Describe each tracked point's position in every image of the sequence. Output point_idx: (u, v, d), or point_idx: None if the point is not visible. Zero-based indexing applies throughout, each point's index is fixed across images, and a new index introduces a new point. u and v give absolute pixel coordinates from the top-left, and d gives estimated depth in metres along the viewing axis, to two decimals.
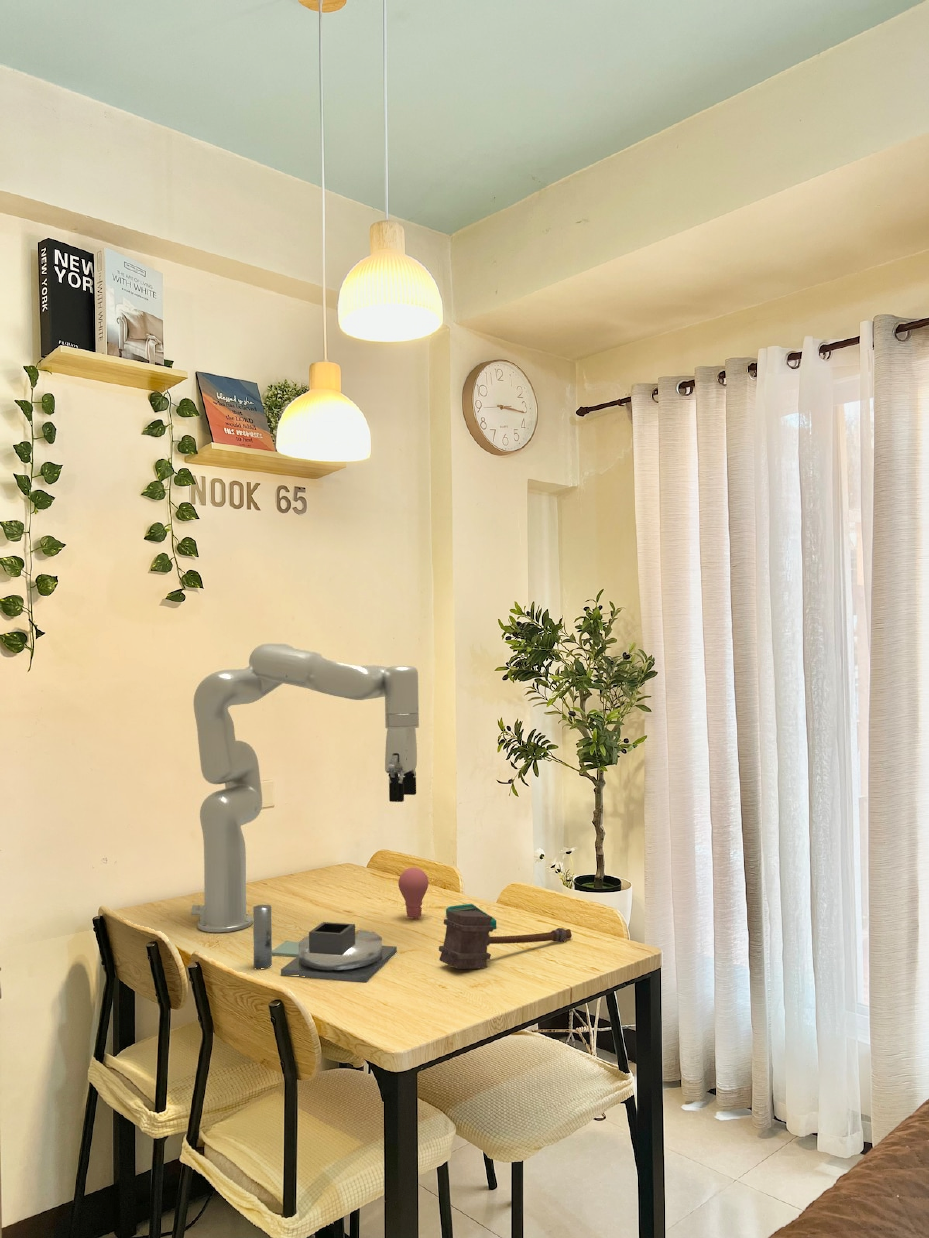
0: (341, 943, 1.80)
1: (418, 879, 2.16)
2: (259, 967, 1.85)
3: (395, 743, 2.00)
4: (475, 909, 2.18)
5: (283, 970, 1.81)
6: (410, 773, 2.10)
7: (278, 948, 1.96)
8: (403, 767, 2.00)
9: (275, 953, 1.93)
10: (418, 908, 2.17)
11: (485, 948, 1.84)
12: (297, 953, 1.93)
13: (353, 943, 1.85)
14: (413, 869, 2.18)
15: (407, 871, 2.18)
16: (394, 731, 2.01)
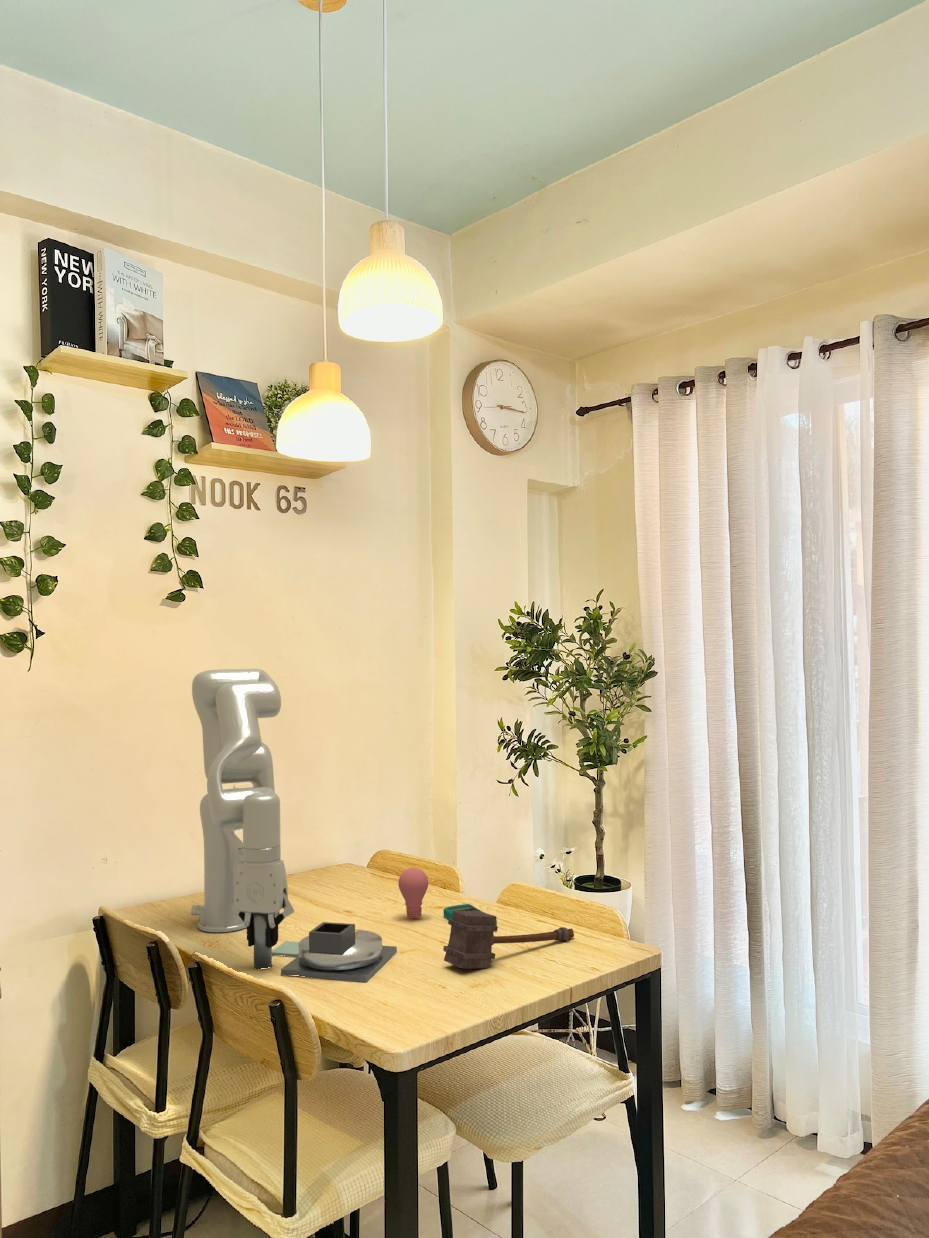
0: (341, 943, 1.80)
1: (418, 879, 2.16)
2: (259, 967, 1.85)
3: (283, 877, 1.86)
4: (473, 909, 2.18)
5: (283, 970, 1.81)
6: None
7: (278, 948, 1.96)
8: None
9: (275, 953, 1.93)
10: (418, 908, 2.17)
11: (490, 948, 1.84)
12: (297, 953, 1.93)
13: (353, 943, 1.85)
14: (413, 869, 2.18)
15: (407, 871, 2.18)
16: (281, 865, 1.86)
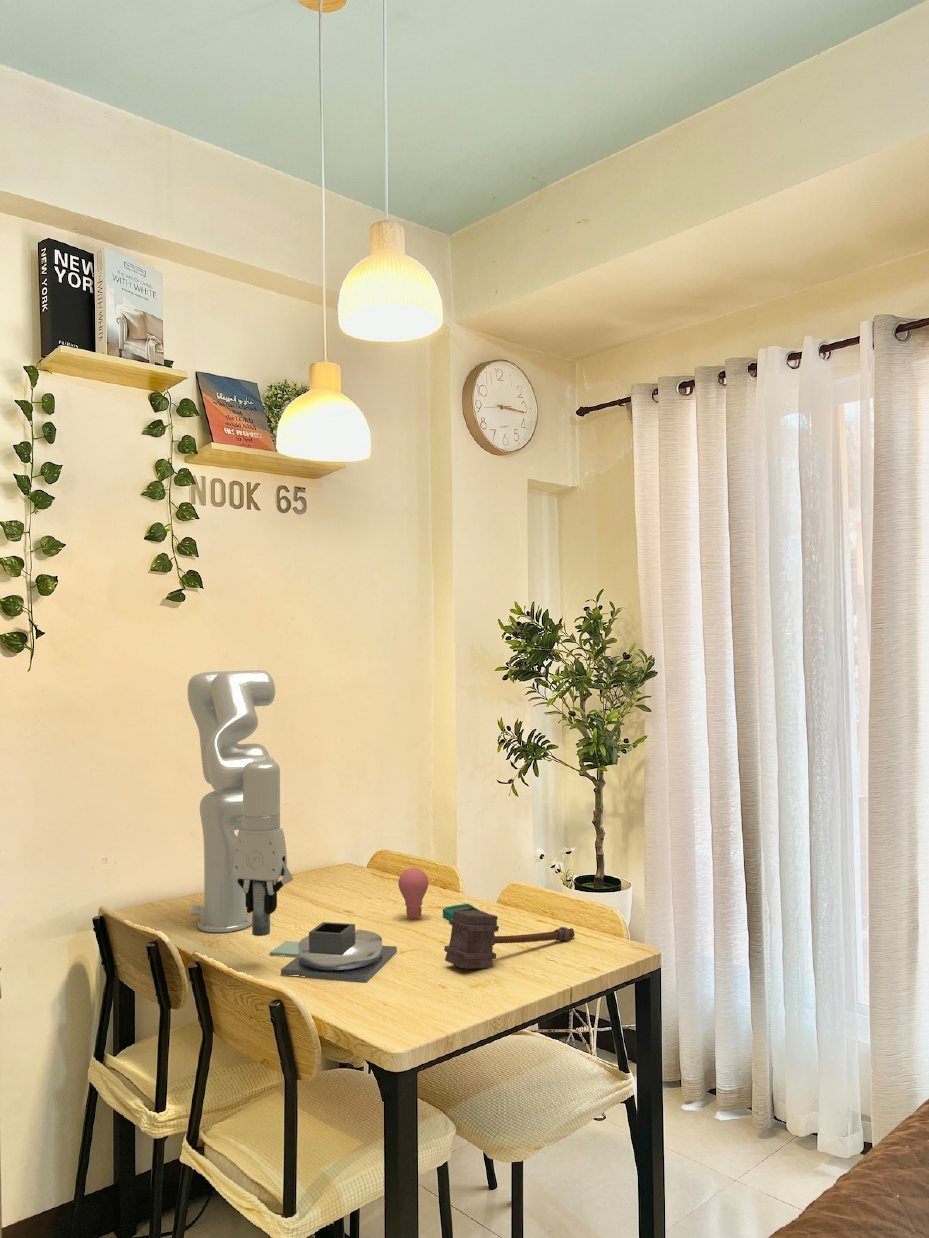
0: (341, 943, 1.80)
1: (418, 879, 2.16)
2: (257, 934, 1.86)
3: (282, 845, 1.87)
4: (472, 909, 2.18)
5: (283, 970, 1.81)
6: None
7: (278, 948, 1.96)
8: None
9: (275, 953, 1.93)
10: (418, 908, 2.17)
11: (491, 948, 1.85)
12: (297, 953, 1.93)
13: (353, 943, 1.85)
14: (413, 869, 2.18)
15: (407, 871, 2.18)
16: (280, 833, 1.86)
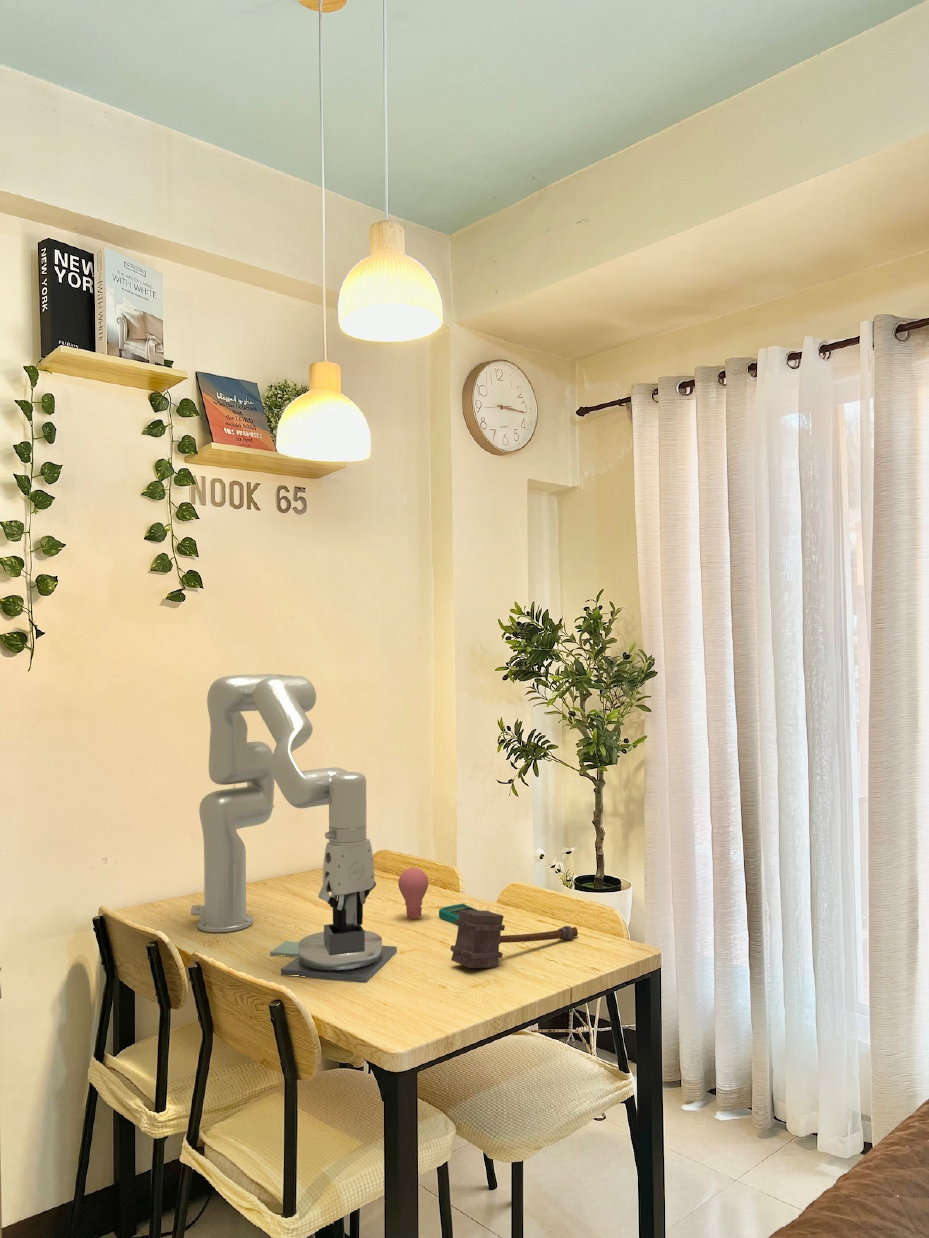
0: (363, 939, 1.82)
1: (418, 879, 2.16)
2: None
3: None
4: (469, 908, 2.19)
5: (283, 970, 1.81)
6: None
7: (278, 948, 1.96)
8: None
9: (275, 953, 1.93)
10: (418, 908, 2.17)
11: (497, 947, 1.85)
12: (297, 953, 1.93)
13: None
14: (413, 869, 2.18)
15: (407, 871, 2.18)
16: None
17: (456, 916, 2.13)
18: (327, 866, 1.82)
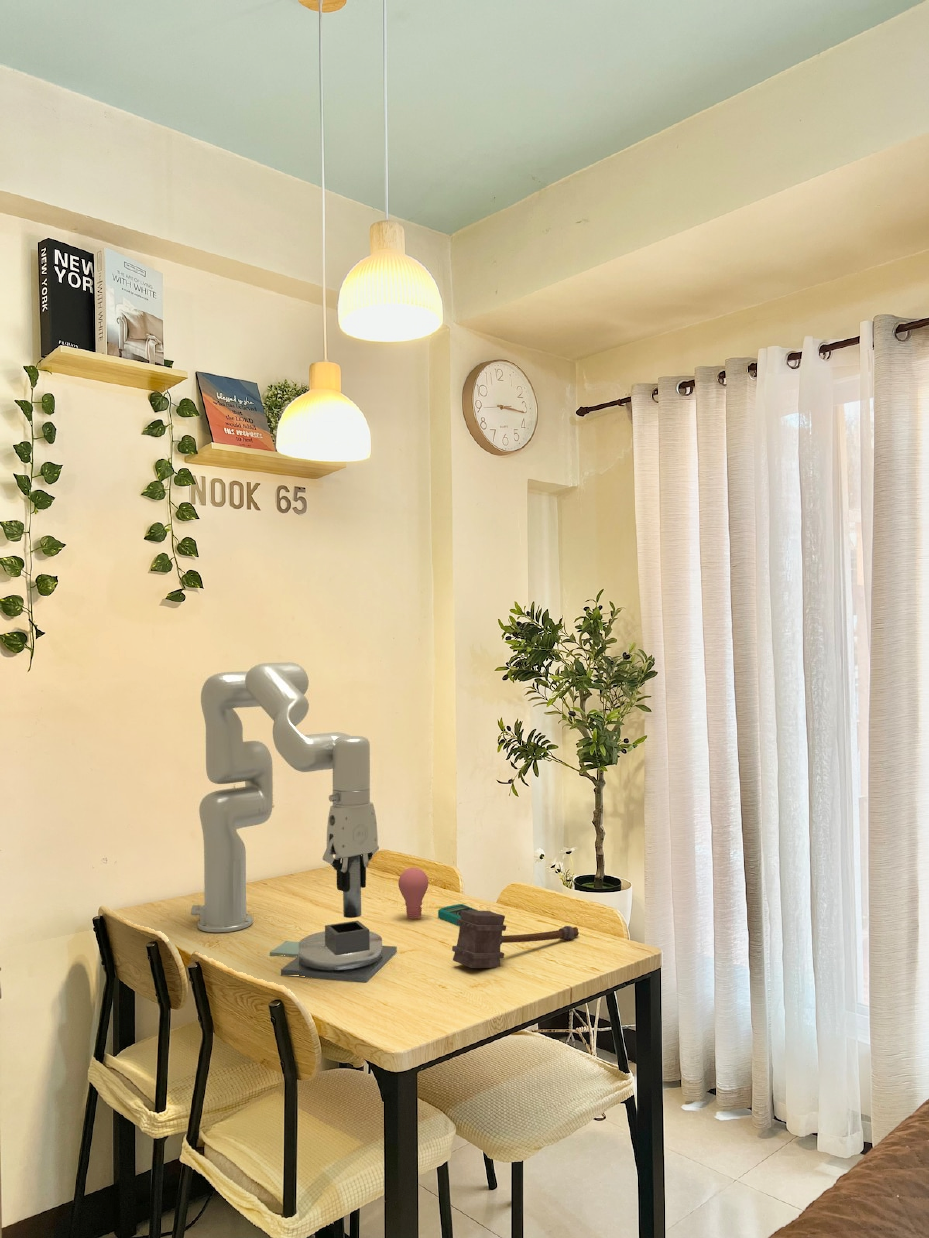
0: (368, 938, 1.83)
1: (418, 879, 2.16)
2: (357, 914, 1.84)
3: None
4: (468, 909, 2.19)
5: (283, 970, 1.81)
6: None
7: (278, 948, 1.96)
8: None
9: (275, 953, 1.93)
10: (418, 908, 2.17)
11: (498, 947, 1.85)
12: (297, 953, 1.93)
13: None
14: (413, 869, 2.18)
15: (407, 871, 2.18)
16: None
17: (456, 916, 2.13)
18: (331, 829, 1.82)
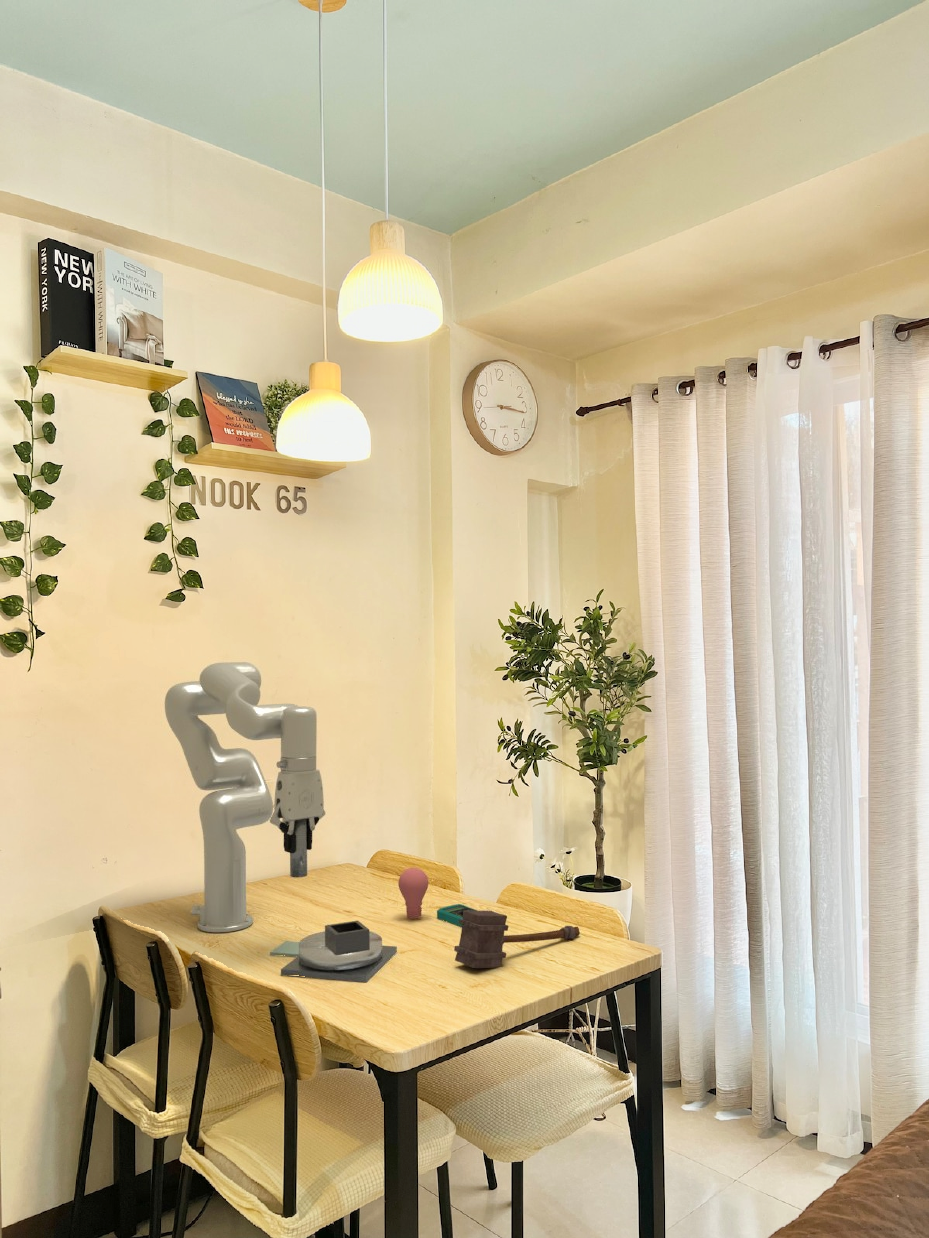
0: (368, 938, 1.83)
1: (418, 879, 2.16)
2: (303, 874, 1.95)
3: None
4: (467, 909, 2.19)
5: (283, 970, 1.81)
6: None
7: (278, 948, 1.96)
8: None
9: (275, 953, 1.93)
10: (418, 908, 2.17)
11: (501, 947, 1.85)
12: (297, 953, 1.93)
13: None
14: (413, 869, 2.18)
15: (407, 871, 2.18)
16: None
17: (455, 916, 2.13)
18: (278, 793, 1.93)
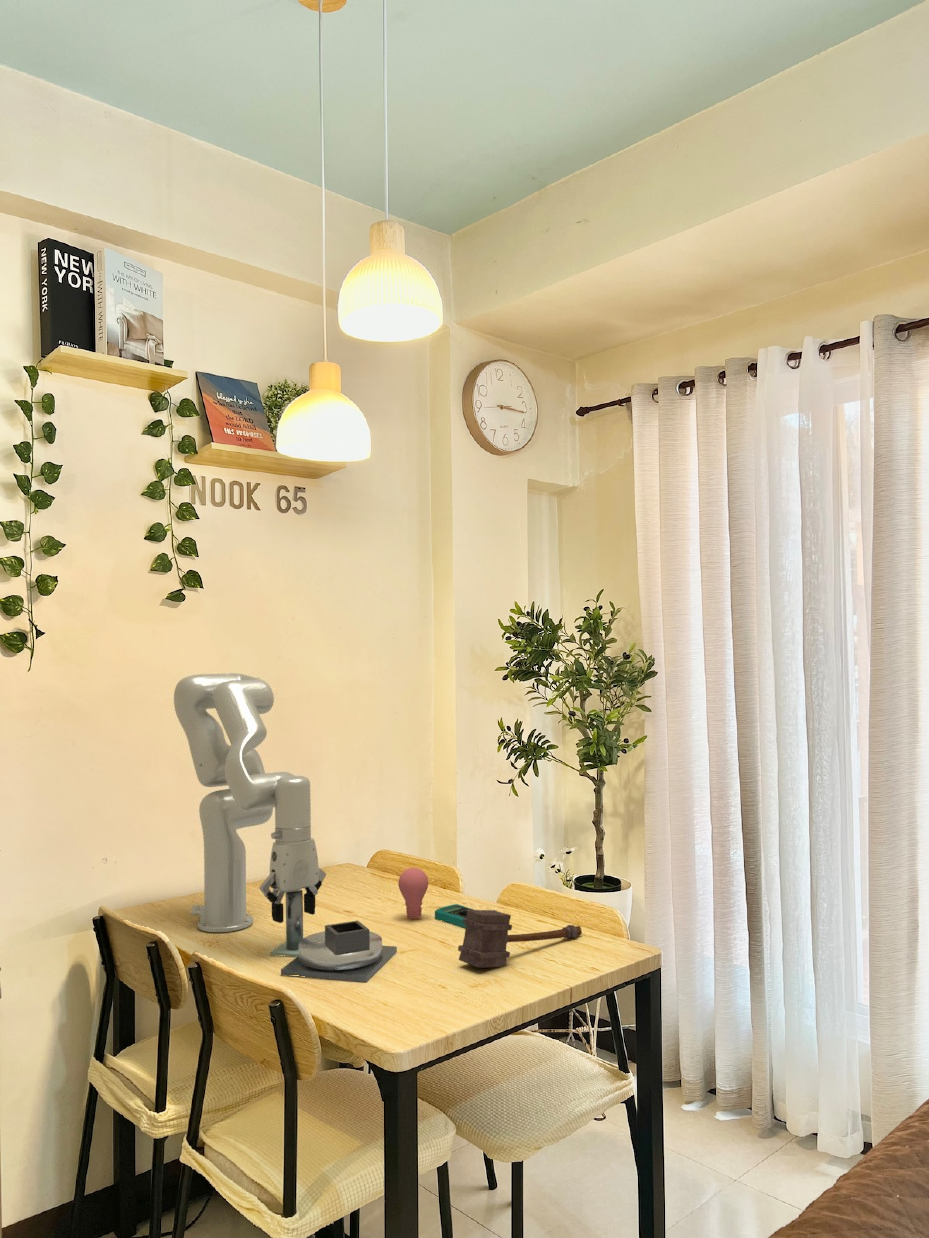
0: (368, 938, 1.83)
1: (418, 879, 2.16)
2: None
3: None
4: (465, 908, 2.19)
5: (283, 970, 1.81)
6: None
7: (278, 948, 1.96)
8: None
9: (275, 953, 1.93)
10: (418, 908, 2.17)
11: (504, 946, 1.85)
12: (297, 953, 1.93)
13: None
14: (413, 869, 2.18)
15: (407, 871, 2.18)
16: None
17: (455, 916, 2.13)
18: (273, 864, 1.93)
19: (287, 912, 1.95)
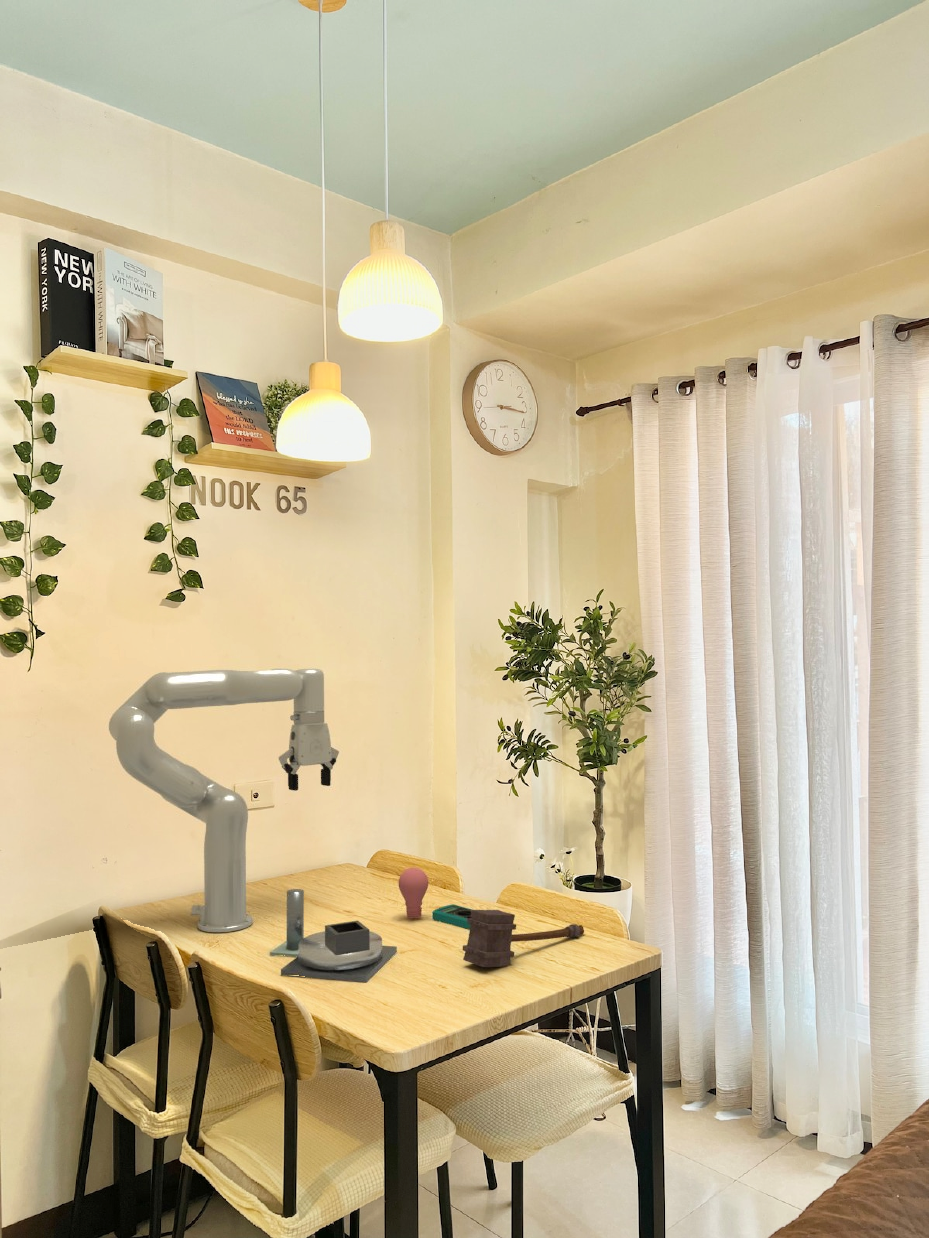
0: (368, 938, 1.83)
1: (418, 879, 2.16)
2: None
3: None
4: (462, 908, 2.19)
5: (283, 970, 1.81)
6: None
7: (278, 948, 1.96)
8: None
9: (275, 953, 1.93)
10: (418, 908, 2.17)
11: (509, 946, 1.85)
12: (297, 953, 1.93)
13: None
14: (413, 869, 2.18)
15: (407, 871, 2.18)
16: None
17: (455, 916, 2.13)
18: (292, 742, 2.24)
19: (288, 912, 1.95)
